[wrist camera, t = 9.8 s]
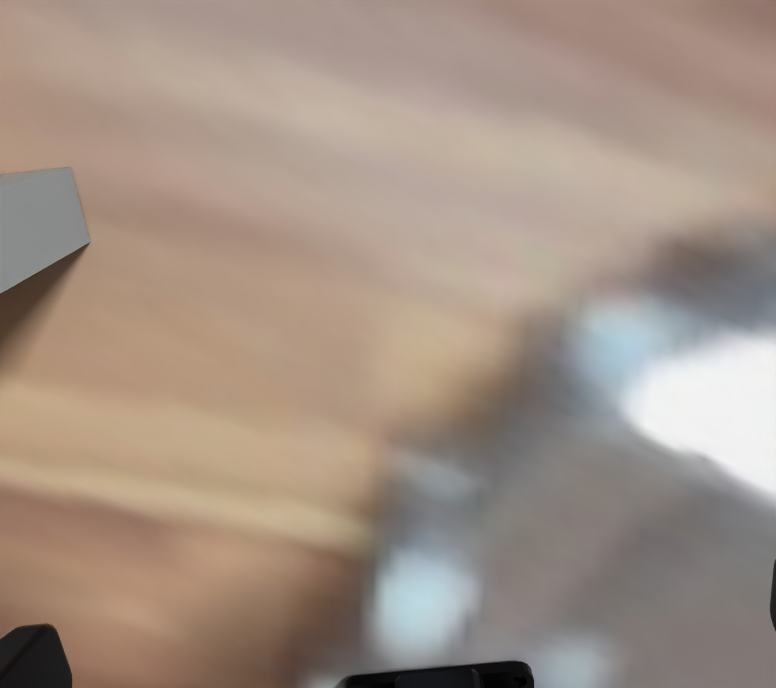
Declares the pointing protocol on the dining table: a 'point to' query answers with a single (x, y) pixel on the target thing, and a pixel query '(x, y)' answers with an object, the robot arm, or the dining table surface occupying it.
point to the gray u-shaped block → (37, 222)
